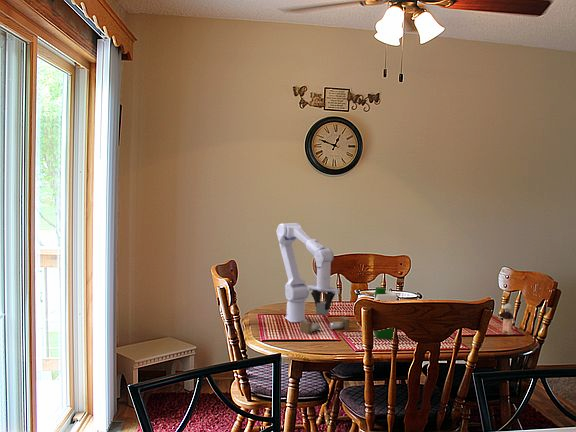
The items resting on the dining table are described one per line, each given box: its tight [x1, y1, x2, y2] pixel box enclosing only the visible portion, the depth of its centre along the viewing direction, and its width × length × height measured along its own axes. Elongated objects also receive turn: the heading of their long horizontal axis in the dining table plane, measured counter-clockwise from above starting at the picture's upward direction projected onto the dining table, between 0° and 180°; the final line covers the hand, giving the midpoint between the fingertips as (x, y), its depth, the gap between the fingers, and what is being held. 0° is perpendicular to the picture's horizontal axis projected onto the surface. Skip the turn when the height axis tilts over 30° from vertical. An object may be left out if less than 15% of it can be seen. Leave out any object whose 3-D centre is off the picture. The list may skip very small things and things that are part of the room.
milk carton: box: [373, 286, 398, 340], centre depth 237 cm, size 9×9×20 cm
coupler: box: [315, 300, 330, 316], centre depth 247 cm, size 4×4×5 cm
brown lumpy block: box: [299, 321, 321, 335], centre depth 243 cm, size 8×5×4 cm, turn 129°
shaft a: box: [328, 316, 350, 331], centre depth 248 cm, size 8×5×4 cm, turn 109°
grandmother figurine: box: [498, 303, 516, 335], centre depth 247 cm, size 8×4×13 cm, turn 46°
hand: (322, 308), depth 248 cm, fingers closed on coupler, 4 cm apart
